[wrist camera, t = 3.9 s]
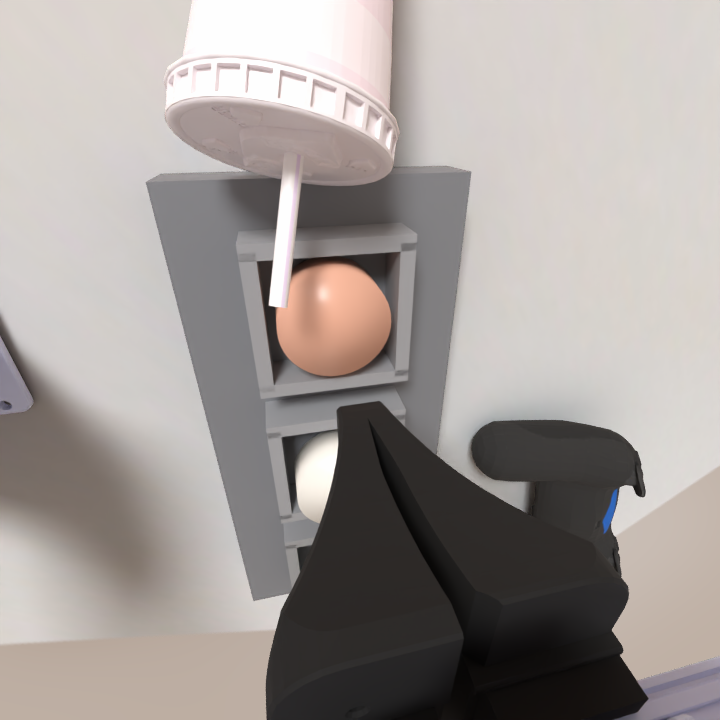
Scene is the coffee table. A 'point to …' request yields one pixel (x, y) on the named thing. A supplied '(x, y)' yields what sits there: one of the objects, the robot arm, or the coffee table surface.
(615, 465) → the gaming controller
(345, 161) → the smoothie
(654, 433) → the coffee table surface
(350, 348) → the peach button
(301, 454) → the offwhite button
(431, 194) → the button panel
